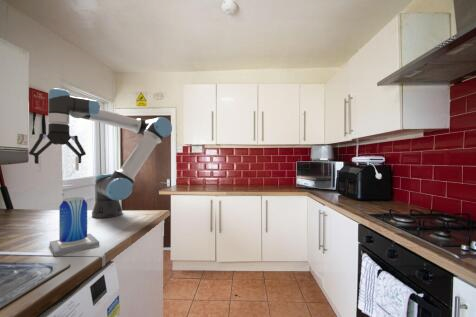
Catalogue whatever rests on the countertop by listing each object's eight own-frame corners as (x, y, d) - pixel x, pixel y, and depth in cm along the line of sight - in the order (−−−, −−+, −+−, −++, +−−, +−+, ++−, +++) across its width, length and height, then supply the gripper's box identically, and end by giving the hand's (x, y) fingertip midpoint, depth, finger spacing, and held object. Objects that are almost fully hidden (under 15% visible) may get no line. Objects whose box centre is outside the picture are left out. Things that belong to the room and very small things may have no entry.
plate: (90, 237, 95) (90, 233, 95) (99, 245, 86) (99, 241, 86) (49, 245, 85) (49, 241, 85) (54, 256, 76) (54, 251, 76)
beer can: (89, 241, 85) (89, 198, 85) (61, 248, 79) (61, 201, 79) (84, 236, 91) (84, 196, 91) (57, 241, 85) (57, 198, 85)
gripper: (88, 127, 116) (88, 169, 116) (20, 121, 98) (20, 171, 98) (93, 126, 110) (92, 170, 111) (21, 119, 93) (21, 172, 93)
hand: (59, 170), depth 104 cm, fingers open, 13 cm apart
